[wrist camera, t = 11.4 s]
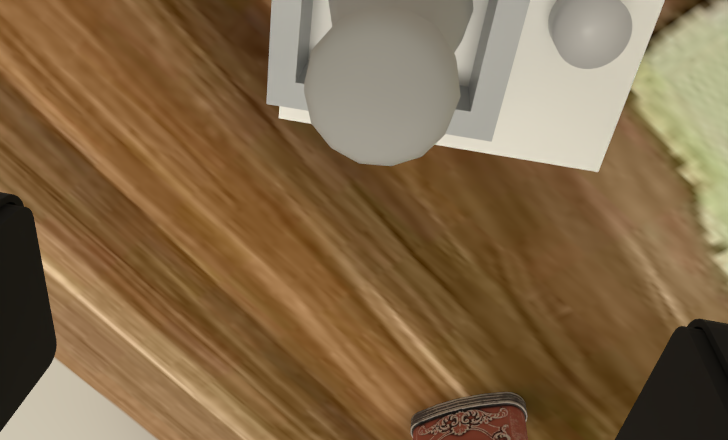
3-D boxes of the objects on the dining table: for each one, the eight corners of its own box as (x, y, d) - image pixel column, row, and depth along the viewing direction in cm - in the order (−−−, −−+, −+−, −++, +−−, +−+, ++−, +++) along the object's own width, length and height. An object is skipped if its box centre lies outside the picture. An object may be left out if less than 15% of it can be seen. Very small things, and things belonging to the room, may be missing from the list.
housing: (715, -158, 24) (759, -154, 21) (594, 162, 32) (611, 203, 28) (305, -223, 24) (283, -230, 21) (283, 110, 32) (264, 144, 29)
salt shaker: (311, -29, 27) (222, 73, 16) (422, -115, 25) (406, -63, 14) (387, 79, 29) (354, 232, 19) (495, 9, 27) (530, 136, 16)
